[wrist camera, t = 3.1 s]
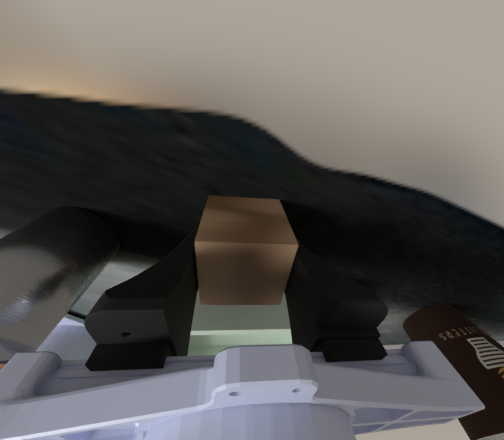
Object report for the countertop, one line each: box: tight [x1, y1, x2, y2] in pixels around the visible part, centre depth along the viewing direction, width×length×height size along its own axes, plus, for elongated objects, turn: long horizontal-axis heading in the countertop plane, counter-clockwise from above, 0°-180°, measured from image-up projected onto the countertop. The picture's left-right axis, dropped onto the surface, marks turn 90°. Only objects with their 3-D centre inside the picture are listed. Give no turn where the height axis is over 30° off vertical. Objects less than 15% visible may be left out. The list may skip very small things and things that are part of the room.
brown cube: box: [194, 195, 298, 305], centre depth 12 cm, size 5×5×5 cm
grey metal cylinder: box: [0, 207, 120, 360], centre depth 11 cm, size 5×5×7 cm
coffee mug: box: [403, 305, 504, 440], centre depth 20 cm, size 12×9×10 cm
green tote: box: [187, 288, 292, 356], centre depth 19 cm, size 17×13×5 cm
